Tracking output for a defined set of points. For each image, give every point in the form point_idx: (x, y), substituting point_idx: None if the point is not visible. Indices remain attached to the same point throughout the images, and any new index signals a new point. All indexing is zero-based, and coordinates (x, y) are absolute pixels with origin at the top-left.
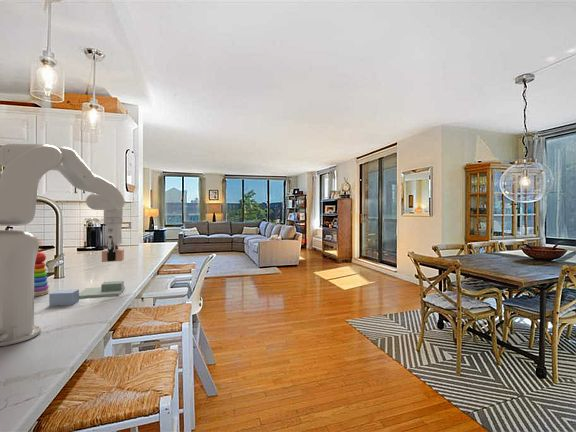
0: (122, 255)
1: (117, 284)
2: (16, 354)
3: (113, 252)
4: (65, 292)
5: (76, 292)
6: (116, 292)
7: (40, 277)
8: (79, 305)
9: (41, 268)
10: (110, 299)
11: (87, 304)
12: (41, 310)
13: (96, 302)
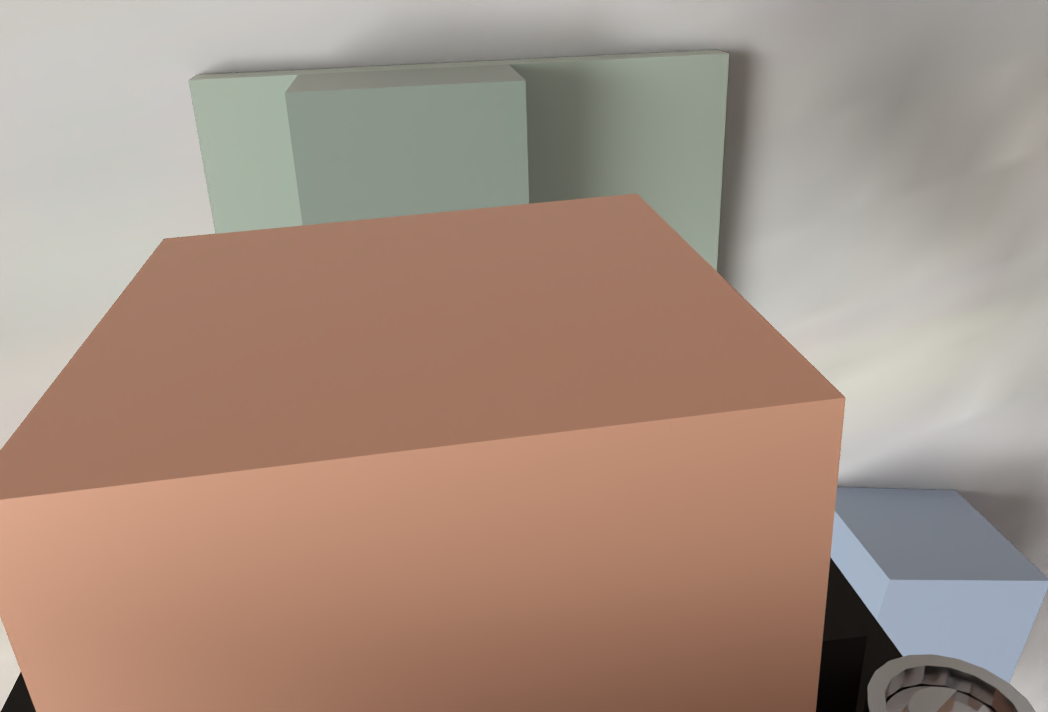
0: (557, 276)
1: (524, 152)
2: None
3: (853, 700)
4: (989, 660)
5: (937, 564)
6: (673, 104)
7: None
8: (1013, 409)
9: None
10: (903, 116)
11: (1014, 338)
12: (1019, 669)
13: (973, 261)
